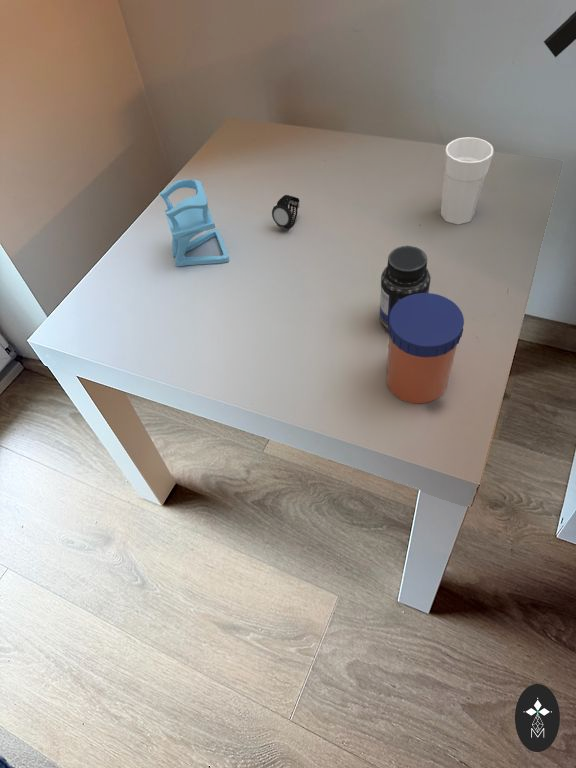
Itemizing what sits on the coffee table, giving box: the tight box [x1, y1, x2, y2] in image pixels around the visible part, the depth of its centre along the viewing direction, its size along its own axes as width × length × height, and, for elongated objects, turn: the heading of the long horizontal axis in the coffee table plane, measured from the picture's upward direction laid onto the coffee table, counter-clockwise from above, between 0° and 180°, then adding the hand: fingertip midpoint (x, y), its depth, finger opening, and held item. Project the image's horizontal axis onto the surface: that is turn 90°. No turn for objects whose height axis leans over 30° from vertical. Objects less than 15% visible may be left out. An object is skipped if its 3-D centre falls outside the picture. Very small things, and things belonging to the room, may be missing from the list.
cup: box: [440, 136, 495, 225], centre depth 82 cm, size 7×7×11 cm
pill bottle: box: [378, 245, 432, 332], centre depth 69 cm, size 6×6×11 cm
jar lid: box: [388, 292, 465, 358], centre depth 60 cm, size 8×8×2 cm
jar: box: [385, 336, 458, 404], centre depth 64 cm, size 8×8×11 cm
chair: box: [158, 179, 230, 267], centre depth 82 cm, size 8×8×12 cm
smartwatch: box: [271, 194, 301, 230], centre depth 86 cm, size 4×5×5 cm
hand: (566, 73), depth 69 cm, fingers open, 13 cm apart
